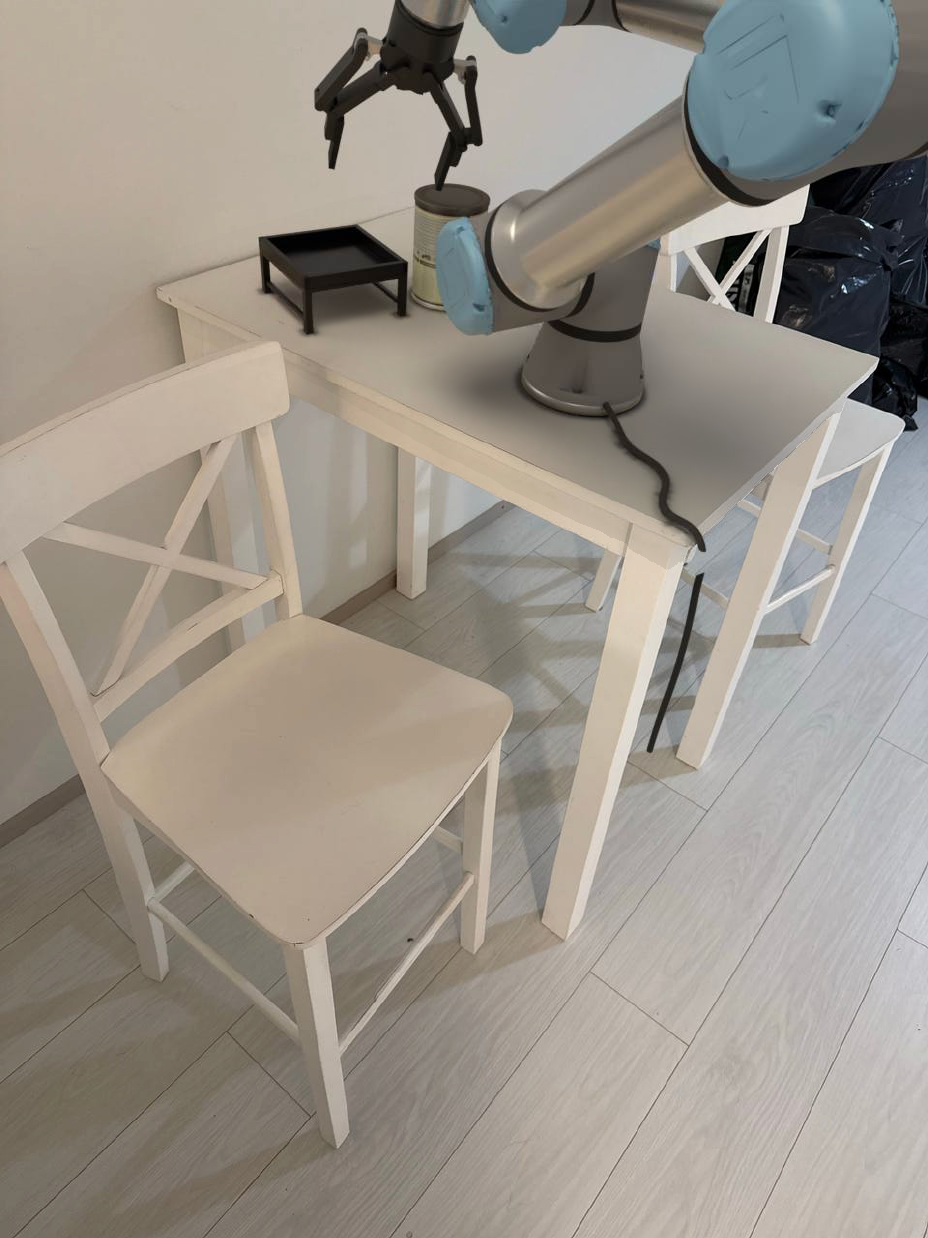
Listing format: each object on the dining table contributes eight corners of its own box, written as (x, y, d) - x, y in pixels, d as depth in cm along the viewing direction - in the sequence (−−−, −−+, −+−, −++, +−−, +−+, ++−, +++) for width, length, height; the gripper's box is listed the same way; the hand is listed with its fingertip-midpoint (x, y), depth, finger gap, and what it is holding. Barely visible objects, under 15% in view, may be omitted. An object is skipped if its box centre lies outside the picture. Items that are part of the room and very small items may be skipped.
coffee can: (415, 279, 136) (419, 178, 126) (484, 287, 135) (493, 187, 126) (405, 307, 128) (409, 202, 118) (477, 315, 128) (487, 211, 118)
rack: (406, 315, 126) (408, 261, 121) (306, 334, 119) (304, 277, 114) (357, 275, 135) (357, 223, 130) (262, 290, 128) (258, 236, 123)
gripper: (537, 12, 100) (477, 170, 119) (311, -51, 92) (284, 129, 111) (545, 58, 97) (482, 213, 116) (312, -3, 90) (284, 173, 108)
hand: (385, 172), depth 113 cm, fingers open, 13 cm apart
